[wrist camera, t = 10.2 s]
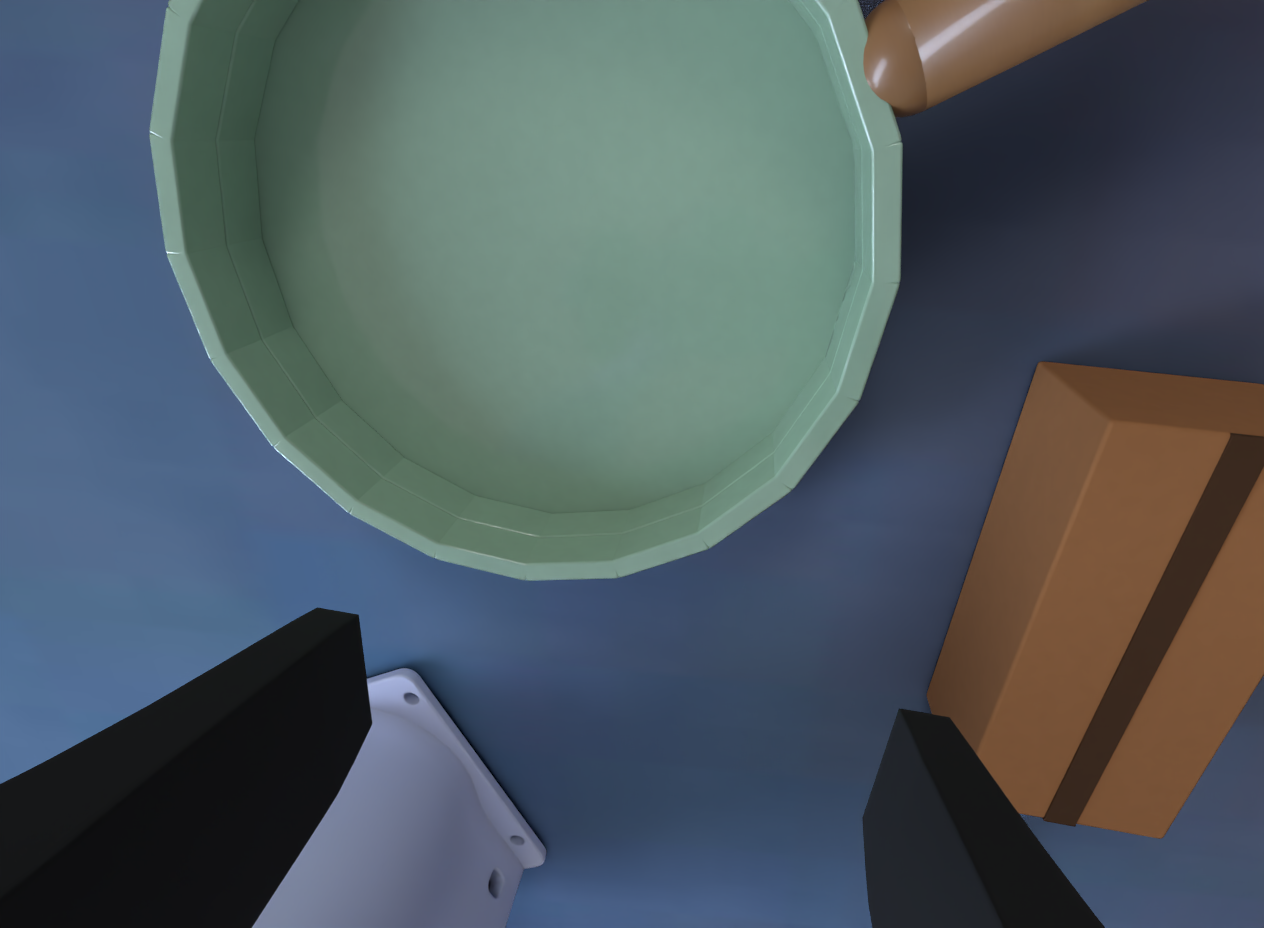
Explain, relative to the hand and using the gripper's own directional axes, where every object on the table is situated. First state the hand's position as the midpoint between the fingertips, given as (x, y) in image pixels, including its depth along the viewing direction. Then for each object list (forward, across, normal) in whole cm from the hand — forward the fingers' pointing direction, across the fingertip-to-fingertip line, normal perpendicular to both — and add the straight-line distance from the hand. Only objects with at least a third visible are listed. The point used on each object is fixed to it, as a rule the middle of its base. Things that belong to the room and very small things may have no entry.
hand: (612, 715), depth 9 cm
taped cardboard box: (+9, -10, +2) cm, 14 cm away
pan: (+9, +4, -4) cm, 11 cm away
